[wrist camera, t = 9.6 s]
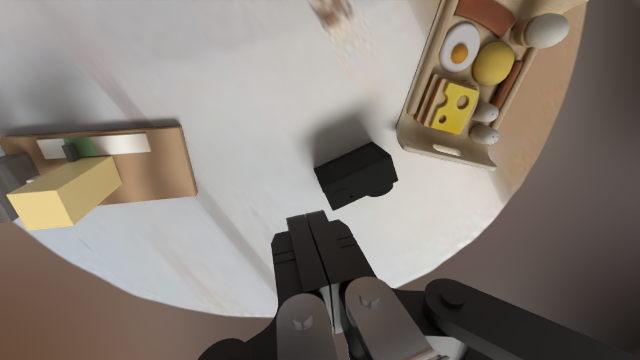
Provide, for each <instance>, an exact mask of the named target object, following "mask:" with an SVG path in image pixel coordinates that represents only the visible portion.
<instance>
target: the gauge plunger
mask: <svg viewBox="0 0 640 360" xmlns="http://www.w3.org/2000/svg"><path fill="white" fill-rule="evenodd" d="M61 147H62V149H63V151H64V153H65V155H66V158H67V160H68V162H69V163H67V164H65V165H63V166H61V167H59V168H57V169H55V170H53V171H51V172H49V173H47V174H45V175H37V176H35V177H33V178H31V179H29V180H27V183H28V184H26V185H24V186H22V187H20V188H18V189H16V190H14V191H12V192H11V193H9V194H7V197H8V199H9V201H10V202H11V204H12V206H13V207H14V209H15V211H16V212H17V214H18V216H19V217H20V219H21V221H22V222H23V224H24V226H25V227H26V229H27V231H29V230H38V229H47V228H56V227H66V226H74V225H75V224H76V223H77V222H78V221H80V220H81V219H82V218H83V217H84V216H85V215H87V214H88V213H89V212H90V211H91V210H92V209H94V208H95V207H96V206H97V205H98V204H99V203H101V202H102V201H103V200H104V199H105V198H106V197H108V196H109V195H110V194H111V193H112V192H113V191H115V190H116V189H117V188H118V187H119V186H120V185H122V181H121V179H120V176H119V173H118V171H117V168H116V165H115V163H114V160H113V157H112V156H103V157H89V158H80V156H79V154H78V152H77V149H76V147H75V145H74V143H67V144H64V145H62V146H61Z"/></svg>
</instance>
